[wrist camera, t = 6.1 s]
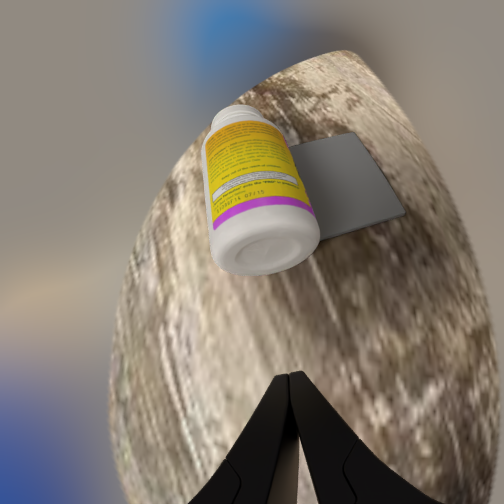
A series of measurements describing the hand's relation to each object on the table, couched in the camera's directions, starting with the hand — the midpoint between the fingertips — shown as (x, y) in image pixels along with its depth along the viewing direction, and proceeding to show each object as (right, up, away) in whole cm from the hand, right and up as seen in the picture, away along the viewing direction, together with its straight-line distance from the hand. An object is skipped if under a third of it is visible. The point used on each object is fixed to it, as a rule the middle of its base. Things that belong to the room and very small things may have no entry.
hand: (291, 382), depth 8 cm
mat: (+4, +9, +15) cm, 18 cm away
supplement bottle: (0, +3, +9) cm, 9 cm away
